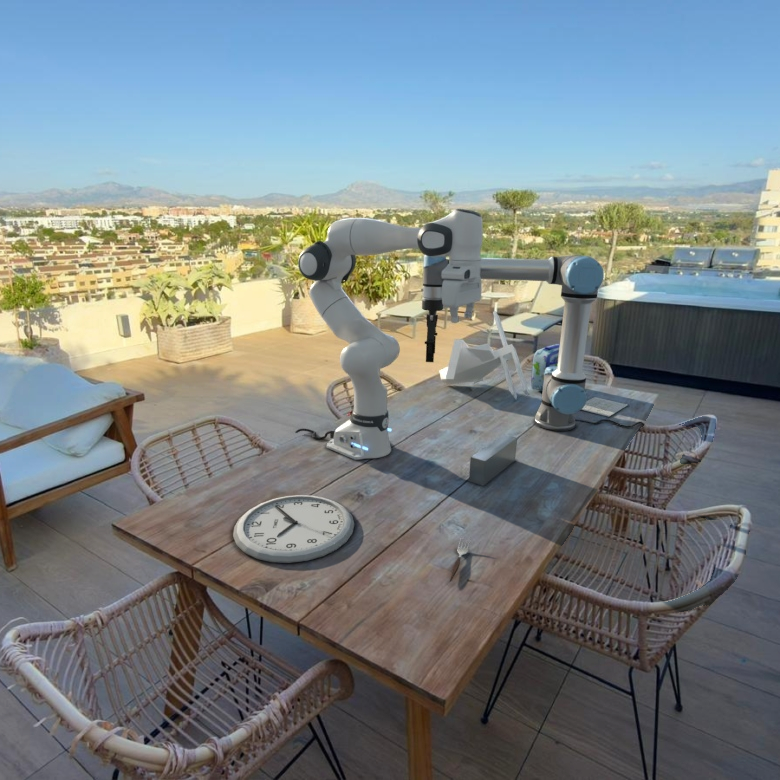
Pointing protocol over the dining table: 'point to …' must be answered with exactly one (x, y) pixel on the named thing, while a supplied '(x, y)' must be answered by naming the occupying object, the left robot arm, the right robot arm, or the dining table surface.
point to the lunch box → (543, 364)
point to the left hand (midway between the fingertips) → (461, 320)
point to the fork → (461, 551)
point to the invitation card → (603, 406)
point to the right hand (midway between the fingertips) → (430, 357)
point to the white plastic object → (482, 362)
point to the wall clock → (293, 529)
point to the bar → (492, 459)
